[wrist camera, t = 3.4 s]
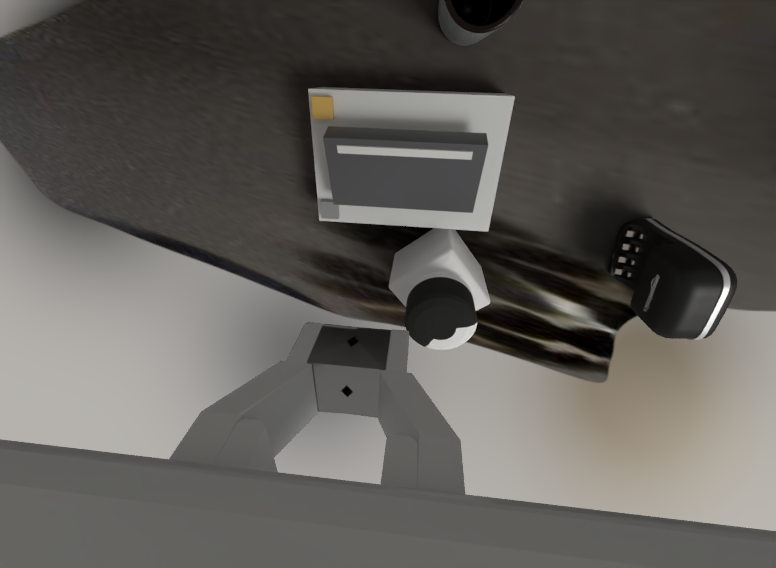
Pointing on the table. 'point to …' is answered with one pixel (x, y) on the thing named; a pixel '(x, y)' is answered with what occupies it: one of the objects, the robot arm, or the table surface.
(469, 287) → the medicine bottle
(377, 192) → the dark gray slim case
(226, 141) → the table surface
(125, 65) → the table surface
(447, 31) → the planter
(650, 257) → the battery charger
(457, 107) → the panel
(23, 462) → the robot arm
